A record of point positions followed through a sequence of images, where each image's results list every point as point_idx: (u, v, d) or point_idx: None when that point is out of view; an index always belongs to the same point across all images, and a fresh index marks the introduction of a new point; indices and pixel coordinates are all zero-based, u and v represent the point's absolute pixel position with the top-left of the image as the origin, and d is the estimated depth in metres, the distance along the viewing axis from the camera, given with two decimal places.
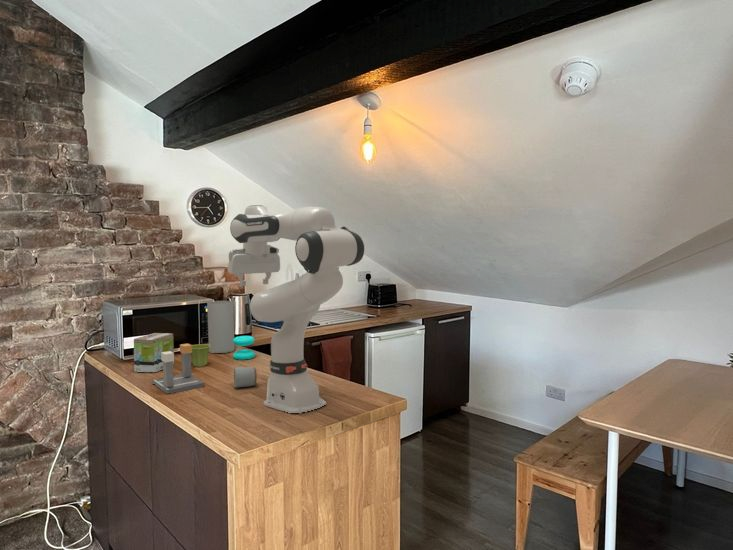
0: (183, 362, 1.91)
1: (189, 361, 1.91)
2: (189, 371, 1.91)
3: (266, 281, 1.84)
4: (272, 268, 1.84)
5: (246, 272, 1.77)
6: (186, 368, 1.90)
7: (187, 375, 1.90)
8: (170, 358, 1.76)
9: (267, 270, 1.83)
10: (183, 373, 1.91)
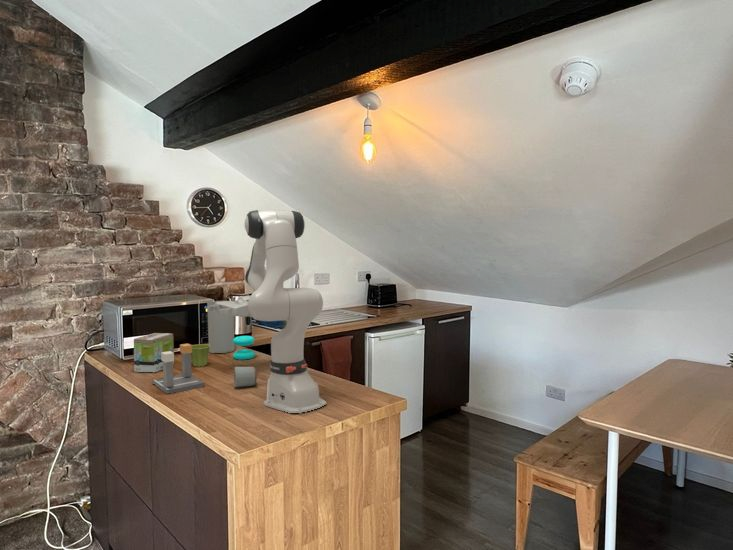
0: (183, 362, 1.91)
1: (189, 361, 1.91)
2: (189, 371, 1.91)
3: (220, 309, 1.95)
4: (234, 306, 1.97)
5: (221, 303, 2.04)
6: (186, 368, 1.90)
7: (187, 375, 1.90)
8: (170, 358, 1.76)
9: (230, 305, 1.98)
10: (183, 373, 1.91)
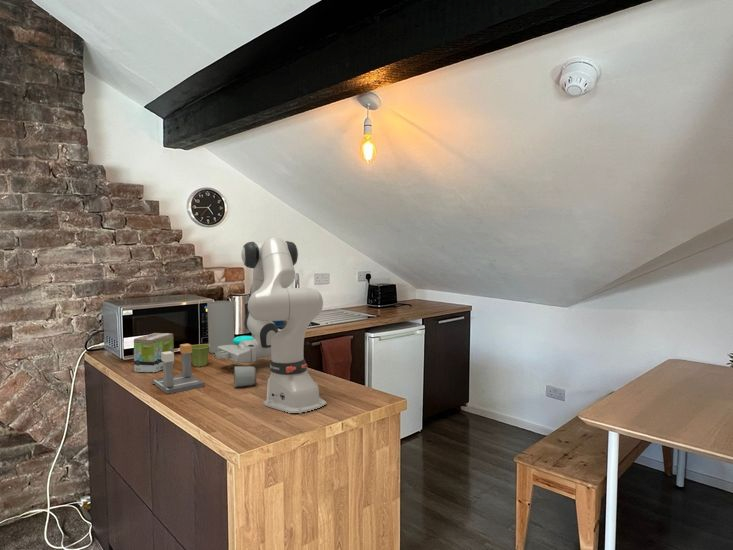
0: (183, 362, 1.91)
1: (189, 361, 1.91)
2: (189, 371, 1.91)
3: (218, 353, 2.00)
4: (236, 352, 1.98)
5: (223, 348, 2.06)
6: (186, 368, 1.90)
7: (187, 375, 1.90)
8: (170, 358, 1.76)
9: (232, 351, 2.00)
10: (183, 373, 1.91)
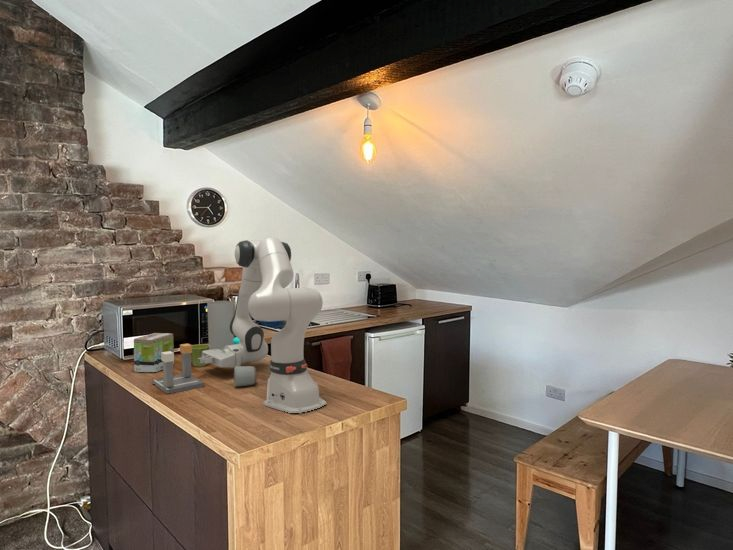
0: (183, 362, 1.91)
1: (189, 361, 1.91)
2: (189, 371, 1.91)
3: (202, 358, 1.95)
4: (220, 357, 1.94)
5: (207, 353, 2.01)
6: (186, 368, 1.90)
7: (187, 375, 1.90)
8: (170, 358, 1.76)
9: (216, 356, 1.95)
10: (183, 373, 1.91)
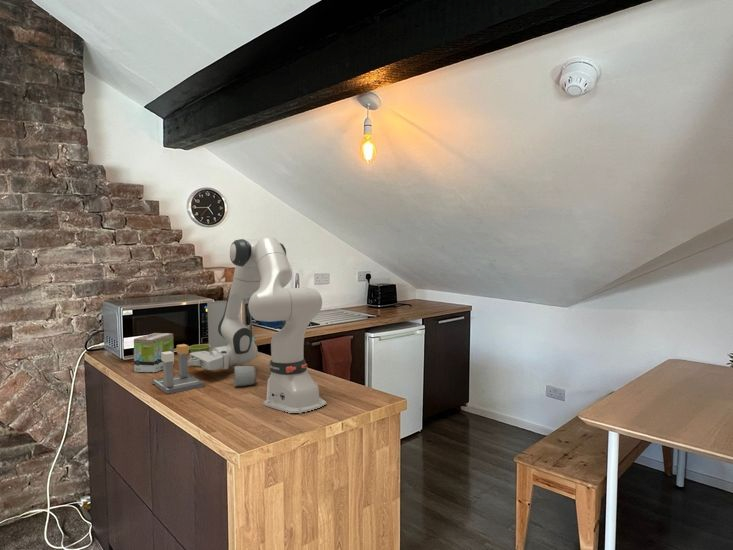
0: (180, 363, 1.90)
1: (186, 362, 1.90)
2: (186, 372, 1.90)
3: (189, 360, 1.92)
4: (207, 359, 1.90)
5: (195, 355, 1.98)
6: (183, 369, 1.89)
7: (184, 376, 1.89)
8: (170, 358, 1.76)
9: (204, 358, 1.92)
10: (180, 374, 1.91)
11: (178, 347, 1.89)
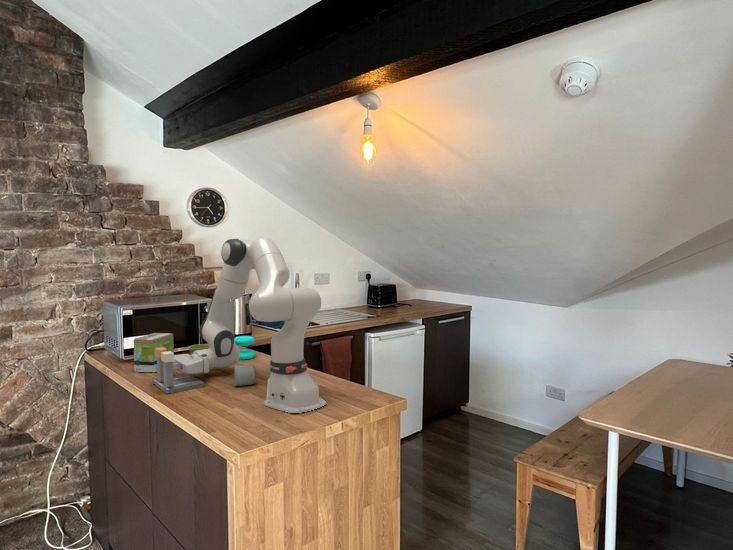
0: (158, 366, 1.85)
1: None
2: None
3: None
4: (186, 362, 1.85)
5: (174, 358, 1.93)
6: (161, 372, 1.84)
7: (162, 380, 1.84)
8: (170, 358, 1.76)
9: (183, 362, 1.86)
10: (158, 378, 1.85)
11: (156, 350, 1.84)
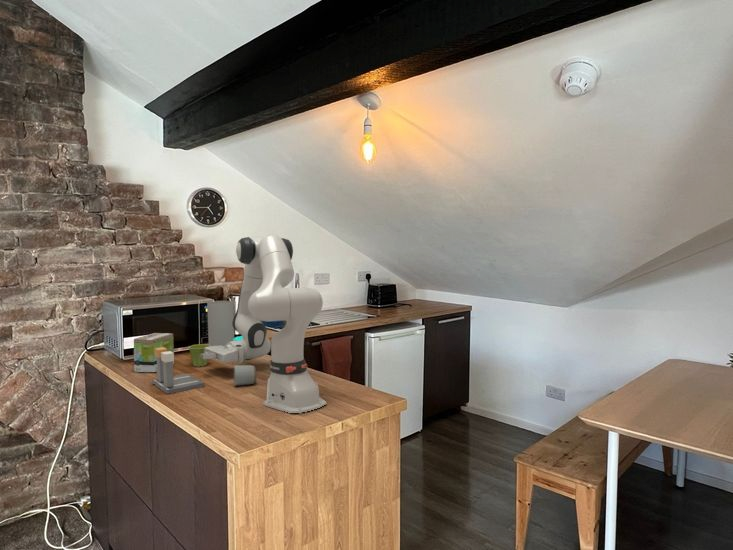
0: (158, 366, 1.85)
1: None
2: None
3: (205, 354, 1.95)
4: (222, 352, 1.94)
5: (210, 349, 2.02)
6: (161, 372, 1.84)
7: (162, 380, 1.84)
8: (170, 358, 1.76)
9: (219, 351, 1.95)
10: (158, 378, 1.85)
11: (156, 350, 1.84)
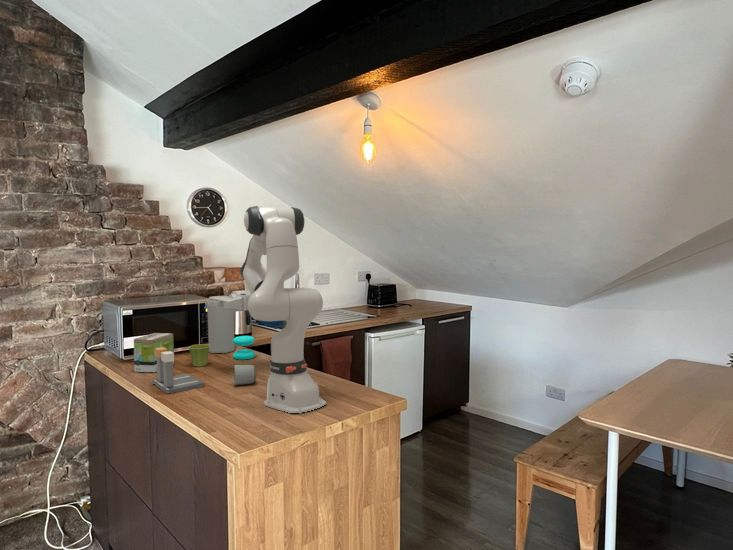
0: (158, 366, 1.85)
1: None
2: None
3: (209, 301, 1.96)
4: (227, 299, 1.95)
5: (214, 297, 2.02)
6: (161, 372, 1.84)
7: (162, 380, 1.84)
8: (170, 358, 1.76)
9: (224, 299, 1.96)
10: (158, 378, 1.85)
11: (156, 350, 1.84)
